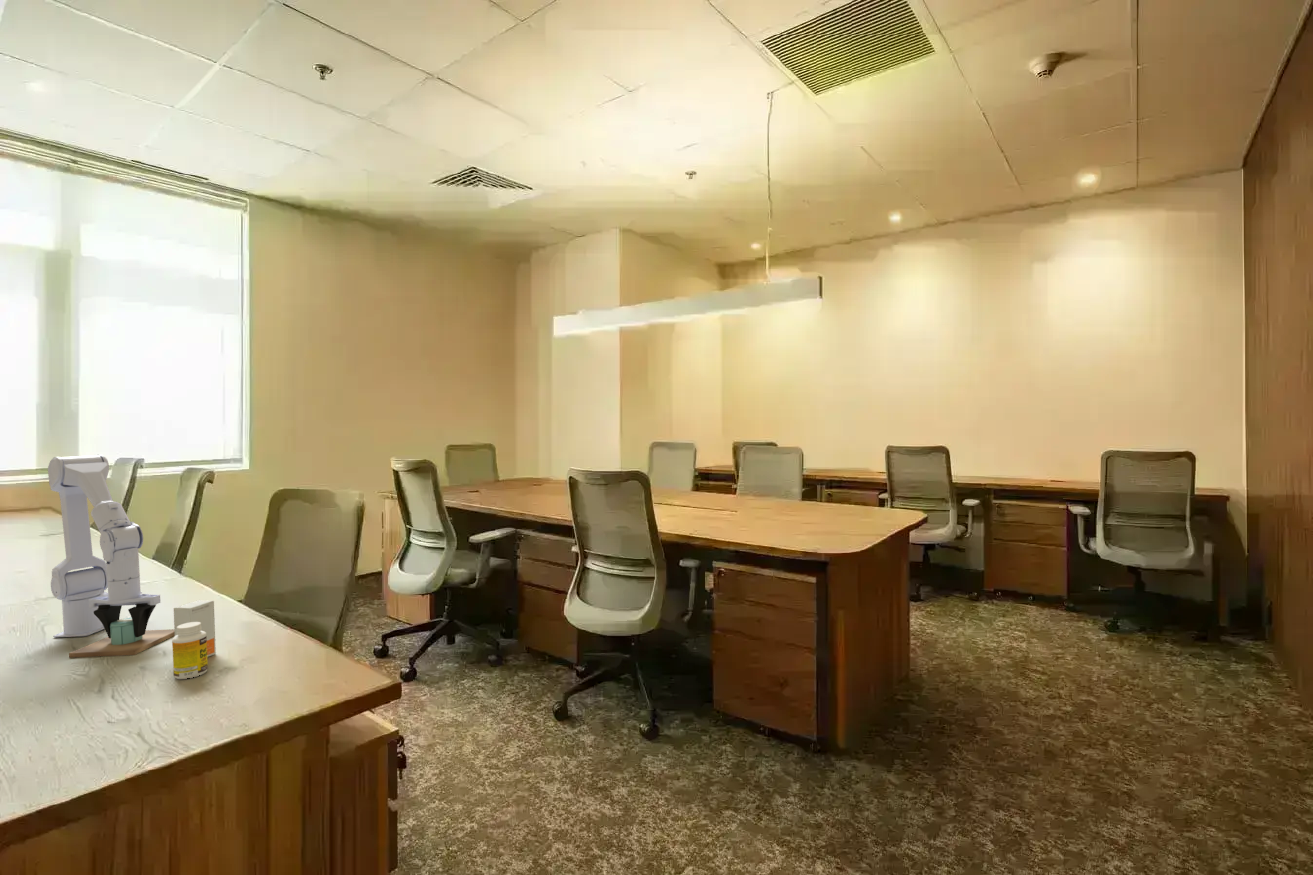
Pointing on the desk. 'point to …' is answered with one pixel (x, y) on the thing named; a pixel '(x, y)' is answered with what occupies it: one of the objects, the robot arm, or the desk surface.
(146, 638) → the post fixture
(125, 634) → the cap
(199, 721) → the desk surface
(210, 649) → the skincare box
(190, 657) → the supplement bottle
